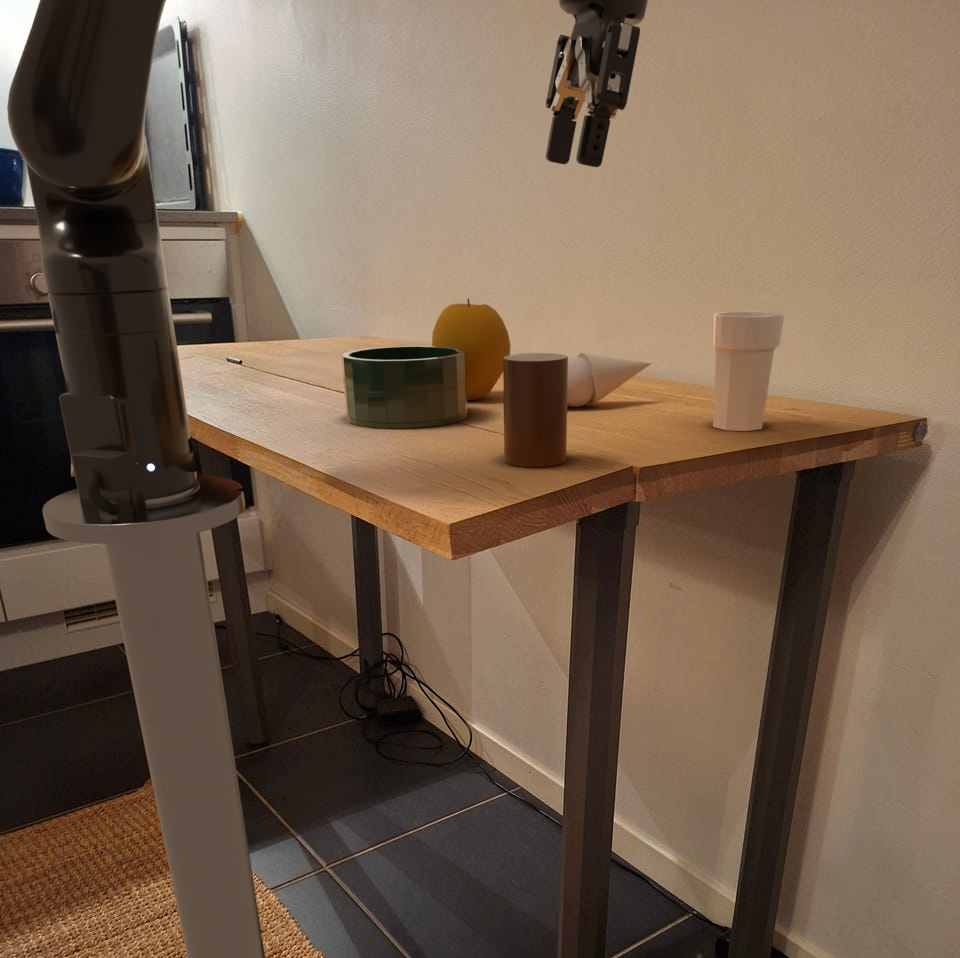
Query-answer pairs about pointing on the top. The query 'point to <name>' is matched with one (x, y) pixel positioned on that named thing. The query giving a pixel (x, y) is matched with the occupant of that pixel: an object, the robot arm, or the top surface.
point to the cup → (743, 367)
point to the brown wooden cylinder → (535, 409)
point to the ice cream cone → (597, 377)
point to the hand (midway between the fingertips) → (571, 164)
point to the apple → (475, 343)
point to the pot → (405, 386)
